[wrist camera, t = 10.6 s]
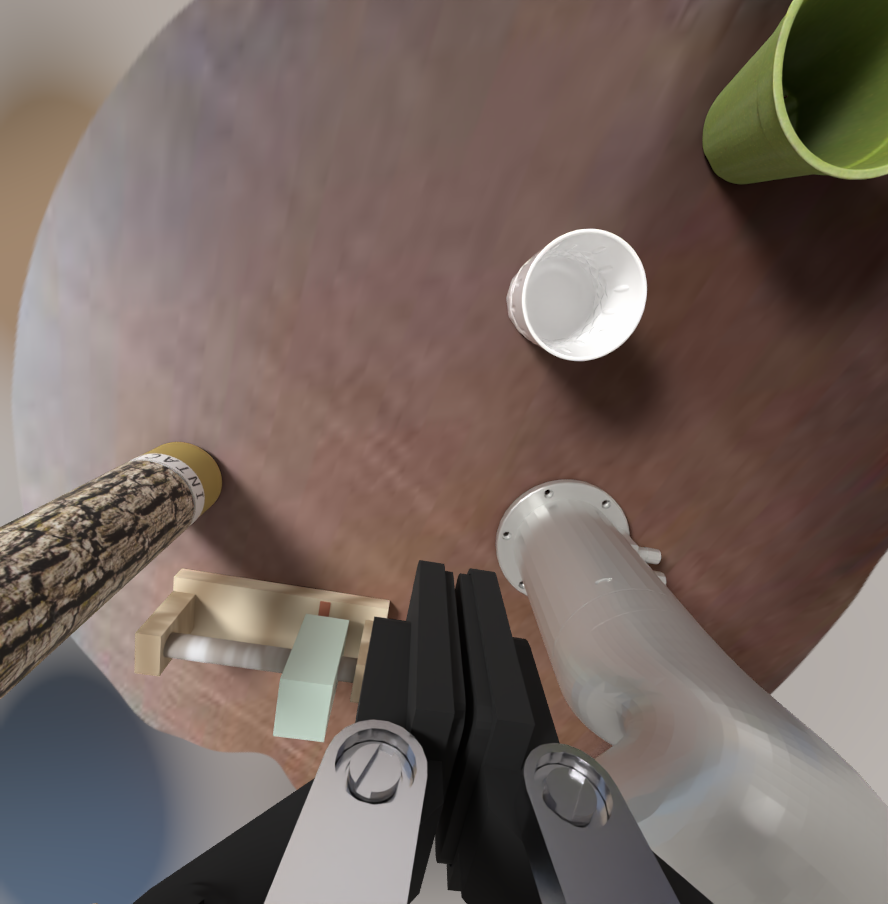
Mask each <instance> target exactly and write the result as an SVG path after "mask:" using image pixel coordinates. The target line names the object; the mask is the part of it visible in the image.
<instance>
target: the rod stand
mask: <svg viewBox="0 0 888 904" xmlns="http://www.w3.org/2000/svg"><path fill="white" fill-rule="evenodd" d="M389 602H390V600H384V599H378V598H371V597H365V596H358V595H352V594H345V593H339V592H332V591H326V590H319V589H313V588H306V587H300V586H293V585H287V584H280V583H274V582H267V581H261V580H254V579H248V578H241V577H235V576H228V575H222V574H215V573H208V572H202V571H195V570H189V569H181V570H180V571H179V572H178V573H177V574H176V575H175V576H174V586H173V592H172V593H171V594H170V595H169V596H168V597H167V598H166V600H165V601H164V602H163V603H162V604H161V605H160V606H159V607H158V608H157V610H156V611H155V612H154V613H153V614H152V615H151V616H150V617H149V618H148V620H147V621H146V622H145V623H144V624H143V625H142V626H141V627H140V628H139V630H138V631H137V632H136V633H135V673H137V674H145V675H152V676H160V675H161V673H162V672H163V671H164V669H165V668H166V667H167V665H168V664H169V662H170V661H171V660H172V658H175V659H182V660H190V661H197V662H204V663H212V664H219V665H226V666H234V667H241V668H248V669H256V670H263V671H270V672H277V673H283V670H284V668H285V665H286V663H287V660H288V658H289V655H290V653H291V650H292V648H293V645H294V643H295V640H296V638H297V635H298V633H299V630H300V628H301V625H302V623H303V620H304V617H305V615H306V614H311V615H318V616H325V617H332V618H338V619H345V620H349V625H348V631H347V637H346V643H345V649H344V655H343V656H341V659H340V663H339V668H338V674H337V680H336V681H343V682H351V683H353V687H352V693H351V698H350V702H355V703H359V698H360V692H361V686H362V681H363V675H364V670H365V664H366V659H367V653H368V648H369V642H370V637H371V632H372V626H373V621H374V616H375V617H382V618H387V615H388V610H389Z"/></svg>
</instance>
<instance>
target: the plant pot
mask: <svg viewBox="0 0 888 904" xmlns="http://www.w3.org/2000/svg"><path fill="white" fill-rule="evenodd" d="M786 95H788V97H787V98H785V99H784V98H783V97H784V96H786ZM703 150H704V154H705V155H706V157H707V159H708V160H709V162H710V165H711V167H712V169H713V171H714V172H715V173H716V174H717V175H718V176H719V177H721V178H723V179H724V180H726V181H728V182H731V183H734V184H750V183H757V182H763V181H770V180H776V179H783V178H790V177H797V176H804V175H811V174H816V175H829V176H832V177H836V178H841V179H849V180H863V179H870V178H875V177H880V176H883V175H887V174H888V0H793V1H792V3H791V5H790V7H789V9H788V11H787V13H786V15H785V16H784V18H783V19H782V21H781V22H780V24H779V25H778V27H777V29H776V30H775V32H774V33H773V34H772V35H771V37H770V38H769V39H768V40H767V41H766V42H765V43H764V45H763V46H762V47H761V48H760V49H759V50H758V51H757V52H756V53H755V55H754V56H753V57H752V58H751V59H750V60H749V61H748V62H747V64H746V65H745V66H744V67H743V68H742V69H741V70H740V72H739V73H738V74H737V75H736V76H735V77H734V78H733V79H732V81H731V82H730V83H729V84H728V85H727V86H726V87H725V88H724V89H723V91H722V92H721V93H720V94H719V95H718V97H717V98H716V100H715V101H714V102H713V104H712V106H711V108H710V110H709V112H708V114H707V117H706V120H705V123H704V128H703Z"/></svg>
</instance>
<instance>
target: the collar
mask: <svg viewBox="0 0 888 904" xmlns="http://www.w3.org/2000/svg"><path fill="white" fill-rule="evenodd" d="M348 625H349V620H345V619H338V618H332V617H325V616H318V615H311V614H306V615H305V617H304V620H303V623H302V625H301V628H300V630H299V633H298V635H297V638H296V640H295V643H294V645H293V648H292V650H291V653H290V655H289V658H288V660H287V663H286V665H285V668H284V670H283V673H282V675H281V678H280V684H279V692H278V700H277V708H276V716H275V724H274V732H273V736H279V737H287V738H295V739H303V740H311V741H319V742H324V739H325V734H326V730H327V726H328V722H329V718H330V713H331V709H332V705H333V701H334V697H335V693H336V688H337V684H338V681H336V680H337V674H338V668H339V663H340V659H341V656H343V655H344V649H345V643H346V637H347V631H348Z"/></svg>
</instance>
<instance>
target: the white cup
mask: <svg viewBox="0 0 888 904" xmlns="http://www.w3.org/2000/svg"><path fill="white" fill-rule="evenodd" d="M646 297H647V282H646V276H645V271H644V268H643V265H642V263H641V261H640V259H639V257H638V255H637V254H636V252H635V251H634V250H633V249H632V247H631V246H630V245H629V244H628V243H626V242H625V241H624V240H623V239H621V238H620V237H618V236H616V235H614V234H612V233H610V232H607V231H603V230H598V229H581V230H576V231H572V232H569V233H567V234H564V235H562V236H560V237H558V238H557V239H555V240H554V241H552V242H551V243H550V244H548V245H547V246H546V247H544V248H543V249H542V250H540V251H539V252H538V253H536V254H535V255H534V256H533V257H532V258H530V259H529V260H528V261H527V262H526V263H525V264H524V265H523V266H522V267H521V269H520V270H519V272H518V273H517V274H516V275H515V276H514V277H513V279H512V281H511V284H510V287H509V291H508V294H507V298H506V300H507V307H508V314H509V318H510V319H511V321H512V323H513V324H514V326H515V327H516V329H517V330H518V332H519V333H521V334H523V336H524V337H526V338H527V339H528V340H530V341H531V342H532V343H534V344H535V345H537V346H539V347H540V348H542V349H544V350H546V351H547V352H549V353H551V354H552V355H554V356H557V357H559V358H562V359H566V360H571V361H588V360H593V359H597V358H600V357H602V356H605V355H607V354H609V353H610V352H612V351H614V350H615V349H617V348H618V347H619V346H621V345H622V344H623V343H624V342H625V341H626V340H627V339H628V338H629V337H630V335H631V334H632V333H633V331H634V330H635V328H636V327H637V325H638V323H639V321H640V319H641V317H642V314H643V311H644V308H645V303H646Z"/></svg>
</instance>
